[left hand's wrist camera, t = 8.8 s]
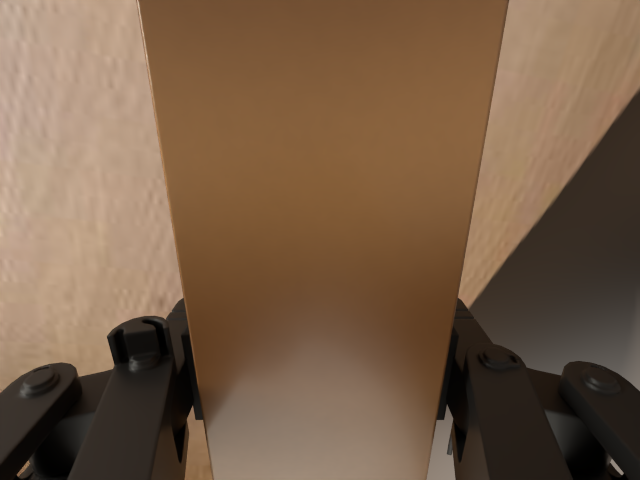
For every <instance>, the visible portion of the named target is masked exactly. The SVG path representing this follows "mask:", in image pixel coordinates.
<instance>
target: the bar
mask: <svg viewBox="0 0 640 480" xmlns="http://www.w3.org/2000/svg"><path fill="white" fill-rule="evenodd" d="M136 1H137V8H138V14H139V20H140V27H141V33H142V39H143V45H144V52H145V58H146V64H147V70H148V77H149V83H150V89H151V95H152V102H153V108H154V114H155V121H156V127H157V133H158V139H159V146H160V152H161V158H162V164H163V171H164V177H165V183H166V189H167V196H168V202H169V208H170V215H171V221H172V227H173V233H174V240H175V246H176V252H177V258H178V265H179V271H180V277H181V283H182V290H183V296H184V302H185V309H186V315H187V321H188V327H189V334H190V340H191V346H192V352H193V359H194V365H195V371H196V377H197V384H198V390H199V396H200V403H201V409H202V415H203V421H204V428H205V434H206V440H207V446H208V453H209V459H210V465H211V471H212V478H213V480H426V478H427V473H428V467H429V461H430V455H431V449H432V444H433V438H434V432H435V426H436V420H437V415H438V409H439V403H440V397H441V391H442V386H443V380H444V374H445V368H446V362H447V357H448V351H449V345H450V339H451V334H452V328H453V322H454V316H455V310H456V305H457V299H458V293H459V287H460V281H461V276H462V270H463V264H464V258H465V252H466V247H467V241H468V235H469V229H470V223H471V218H472V212H473V206H474V200H475V194H476V189H477V183H478V177H479V171H480V165H481V160H482V154H483V148H484V142H485V136H486V131H487V125H488V119H489V113H490V107H491V102H492V96H493V90H494V84H495V79H496V73H497V67H498V61H499V55H500V50H501V44H502V38H503V32H504V26H505V21H506V15H507V9H508V3H509V0H136Z"/></svg>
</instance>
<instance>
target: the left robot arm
mask: <svg viewBox="0 0 640 480" xmlns="http://www.w3.org/2000/svg"><path fill="white" fill-rule="evenodd" d="M107 339H108V342H109V346H110V350H111V353H112V357H113V361H114V364H115V366H114V368H113V369H112V370H108V371H104V372H100V373H95V374H91V375H86V376H81V377H79V376H78V373H77V370H76V368H75V367H74V366H73V365H71V364H68V363H54V364H48V365H44V366H42V367H38V368H36V369H33V370H32V371H30V372H28V373H26V374H24V375H22V376H21V377H19V378H18V379H16V380H15V381H14V382H12V383H11V384H10V385H9V386H8V387H7V388H6V389H5V390H3V391H2V392H1V393H0V480H184V479H185V469H186V459H187V449H188V439H189V429H188V423H187V417H188V415H189V413H190V410H191V408H192V406H193V407H194V413H195V419H196V420H203V415H202V409H201V403H200V396H199V390H198V384H197V377H196V371H195V365H194V359H193V352H192V346H191V340H190V334H189V327H188V321H187V315H186V309H185V302H184V298H183V299H181V300H180V301H178V303H177V304H176V305H175V307H174V308H173V310H172V312H170V314H169V315H168V316H167V318H166V320H165V319H164V318H162V317H158V316H143V317H139V318H134V319H131V320H129V321H126V322H124V323H122V324H120V325H119V326H117V327H116V328H114V329H113V330H112V331H111V332H110V333H109V334H108V336H107ZM447 405H448V407H449V409H450V412H451V414H452V416H453V423H452V429H451V434H450V439H449V444H448V450H447V454H448V455H451V454H452V450H453V458H454V468H455V477H456V480H640V391H639V390H638V389H636V388H635V387H634V386H633V385H632V384H631V383H630V382H629V381H627V380H626V379H625V378H623V377H622V376H620V375H619V374H618V373H616V372H614V371H612V370H610V369H608V368H606V367H603V366H601V365H597V364H594V363H590V362H582V361H575V362H569V363H568V364H567V365H566V366H565V367H564V369H563V372H562V375H556V374H551V373H546V372H542V371H537V370H533V369H530V368H526V365H525V364H524V362H523V361H522V359H521V358H520V357H519V356H518V355H516V354H515V353H514V352H512V351H511V350H509V349H507V348H504V347H502V346H500V345H495V344H493V343H492V342H491V340H490V339H489V337H488V336H487V335H486V333H485V332H484V331H483V329H482V328H481V326H480V325H479V324H478V322H477V321H476V320H475V319H474V317H473V315H472V314H471V313H470V312H469V311H468V309H467V307H466V306H465V305H464V303H463V302H462V300H460V299H459V298H458V299H457V305H456V310H455V316H454V322H453V328H452V334H451V339H450V345H449V351H448V357H447V362H446V368H445V374H444V380H443V386H442V391H441V397H440V403H439V409H438V415H437V420H444V417H445V412H446V406H447ZM611 459H613V460H614V461H615V463H616V464H617V465H618V466H619V468H620V469H621V470H622V471H623V472H624V474H623V475H621V474H620V473H619V472H618V471H617V470H616V469H615V468H614V467H613V466H612V464H611V463H610V461H611ZM28 460H29V462H30V465H29V466H28V467H27V468H26V470H25V471H24V472H23V473H22V474H21V475H20V476H19V477H18V476H17V473H18V472H19V471H20V470H21V469H22V467H23V466H24V465H25V464H26V462H27V461H28Z"/></svg>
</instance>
